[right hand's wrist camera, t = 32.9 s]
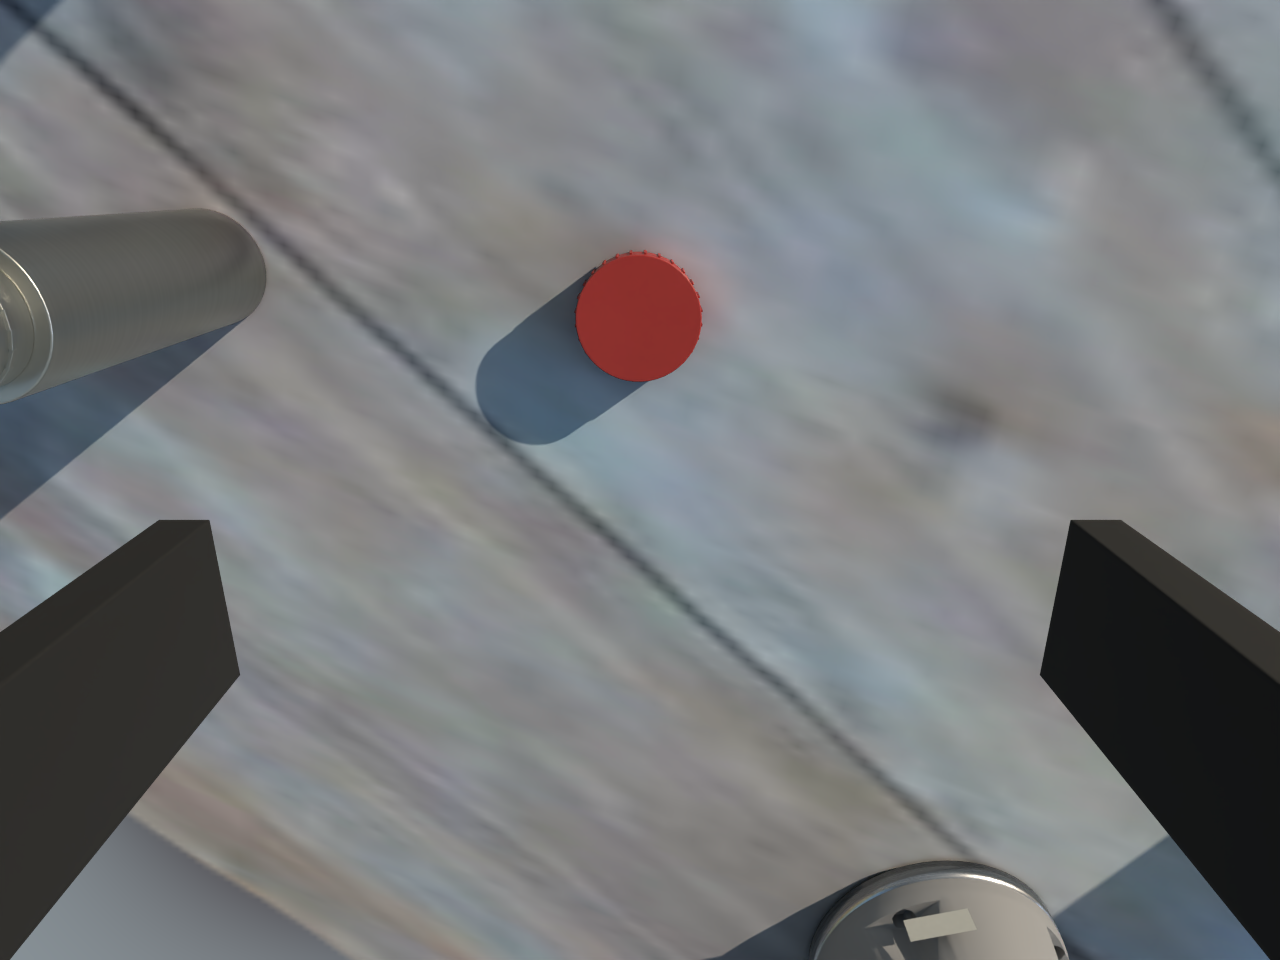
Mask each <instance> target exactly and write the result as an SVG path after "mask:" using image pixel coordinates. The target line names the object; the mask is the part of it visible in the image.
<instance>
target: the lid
mask: <svg viewBox="0 0 1280 960" xmlns="http://www.w3.org/2000/svg"><path fill="white" fill-rule="evenodd" d="M591 274H592V275H591V276H590V277H589V279H588V280H587V281H586V280H585V282H584V284H583V286H584V288H583V289H582V292H581V293H579V295H578V297H577V299H578V303H577V307H576V309H575V313H576V324H575V327H576V329H577V334H578V337H579V341H580V343H581V345H582V347H583V349H584V351H585V353H586V354H587V355H588V357H589V358H590V359H591V360H592V361H593V362H594V364H595V365H596V366H598V367H599V368H600V369H601V370H603V371H604V372H606V373H608V374H609V375H611V376H614V377H616V378H619V379H622V380H626V381H633V382H644V381H651V380H655V379H658V378H661V377H664V376H666V375H668V374H670V373H671V372H673V371H674V370H676V369H677V368H678V367H680V366H681V365H682V364H683V363H684V362H685V361H686V359H687V358H688V357H689V356H690V354H691V353H692V352H693V349H694V348H695V345H696V343H697V341H698V340H699V334H700V330H701V326H702V322H701V319H702V316H701V312H703V311H702V308H701V306H700V302H699V299H698V298H700V296H699V294H698V292H696V291H695V289H694V287H693V285H694V283H693V281H692V280H691V279H690V280H689V279H688V277H687V276H686V274H685V271H684V269H683V268H682V269H680V268H679V267H678V266H677V265H675V264H674V262H673V260H672V259H671V260H668V259H666V258H664V257H662V256H661V255H660V254H659V253H658V255H656V254H653V253H647V252H646V250H644V252H632V250H630V253H625V254H621V255H619V254H616V256H615V257H613V258H611V259H609V260H608V261H606V260H604V261H603V263H602V265H601V266H599V267H598V268H597V269H596V270H595V269H593V271H592V273H591Z"/></svg>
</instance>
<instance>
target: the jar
mask: <svg viewBox="0 0 1280 960" xmlns="http://www.w3.org/2000/svg"><path fill="white" fill-rule="evenodd" d="M265 286H266V270H265V264H264V260H263V257H262V254H261V252H260V250H259V248H258V246H257V244H256V243H255V241H254V240H253V238H252V237H251V236H250V234H249V233H248V232H247V231H246V230H245V229H244V228H243V227H242V226H241V225H240V224H238V223H237V222H236V221H234V220H233V219H231V218H229V217H227V216H226V215H224V214H221V213H219V212H216V211H212V210H207V209H184V210H168V211H153V212H137V213H122V214H106V215H90V216H75V217H59V218H44V219H28V220H13V221H0V404H5V403H9V402H12V401H15V400H18V399H21V398H24V397H27V396H29V395H32V394H35V393H38V392H41V391H44V390H46V389H49V388H52V387H55V386H58V385H61V384H63V383H66V382H69V381H72V380H75V379H78V378H80V377H83V376H86V375H89V374H92V373H95V372H97V371H100V370H103V369H106V368H109V367H112V366H114V365H117V364H120V363H123V362H126V361H129V360H131V359H134V358H137V357H140V356H143V355H146V354H148V353H151V352H154V351H157V350H160V349H163V348H165V347H168V346H171V345H174V344H177V343H180V342H182V341H185V340H188V339H191V338H194V337H197V336H199V335H202V334H205V333H208V332H211V331H214V330H216V329H219V328H222V327H225V326H228V325H231V324H233V323H236V322H239V321H241V320H243V319H244V318H246V317H247V316H249V315H250V314H251V313H252V312H253V311H254V310H255V309H256V307H257V306H258V305H259V303H260V301H261V299H262V297H263V294H264V290H265Z"/></svg>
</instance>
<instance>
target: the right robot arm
mask: <svg viewBox="0 0 1280 960" xmlns="http://www.w3.org/2000/svg"><path fill="white" fill-rule="evenodd" d="M239 676H240V672H239V667H238V662H237V657H236V652H235V647H234V642H233V637H232V632H231V627H230V622H229V617H228V612H227V607H226V602H225V597H224V592H223V586H222V581H221V576H220V571H219V566H218V561H217V556H216V551H215V546H214V541H213V536H212V531H211V526H210V521H209V520H158V521H157V522H156V523H154V524H153V525H151V526H150V527H148V528H147V529H146V530H144V531H143V532H141V533H140V534H139V535H137V536H136V537H134V538H133V539H132V540H130V541H129V542H127V543H126V544H124V545H123V546H122V547H120V548H119V549H117V550H116V551H115V552H113V553H112V554H110V555H109V556H107V557H106V558H105V559H103V560H102V561H100V562H99V563H98V564H96V565H95V566H93V567H92V568H90V569H89V570H88V571H86V572H85V573H83V574H82V575H81V576H79V577H78V578H76V579H75V580H73V581H72V582H71V583H69V584H68V585H66V586H65V587H64V588H62V589H61V590H59V591H58V592H57V593H55V594H54V595H52V596H51V597H49V598H48V599H47V600H45V601H44V602H42V603H41V604H40V605H38V606H37V607H35V608H34V609H32V610H31V611H30V612H28V613H27V614H25V615H24V616H23V617H21V618H20V619H18V620H17V621H15V622H14V623H13V624H11V625H10V626H8V627H7V628H6V629H4V630H3V631H1V632H0V960H10V959H11V958H12V956H13V955H14V954H15V953H16V951H17V950H18V949H19V948H20V946H21V945H22V944H23V943H24V941H25V940H26V939H27V938H28V937H29V935H30V934H31V933H32V932H33V930H34V929H35V928H36V927H37V925H38V924H39V923H40V922H41V920H42V919H43V918H44V917H45V915H46V914H47V913H48V912H49V911H50V909H51V908H52V907H53V906H54V904H55V903H56V902H57V901H58V899H59V898H60V897H61V896H62V894H63V893H64V892H65V891H66V890H67V888H68V887H69V886H70V885H71V883H72V882H73V881H74V880H75V878H76V877H77V876H78V875H79V873H80V872H81V871H82V870H83V868H84V867H85V866H86V865H87V864H88V862H89V861H90V860H91V859H92V857H93V856H94V855H95V854H96V852H97V851H98V850H99V849H100V847H101V846H102V845H103V844H104V842H105V841H106V840H107V839H108V838H109V836H110V835H111V834H112V833H113V831H114V830H115V829H116V828H117V826H118V825H119V824H120V823H121V821H122V820H123V819H124V818H125V817H126V815H127V814H128V813H129V812H130V810H131V809H132V808H133V807H134V805H135V804H136V803H137V802H138V800H139V799H140V798H141V797H142V795H143V794H144V793H145V792H146V791H147V789H148V788H149V787H150V786H151V784H152V783H153V782H154V781H155V779H156V778H157V777H158V776H159V774H160V773H161V772H162V771H163V770H164V768H165V767H166V766H167V765H168V763H169V762H170V761H171V760H172V758H173V757H174V756H175V755H176V753H177V752H178V751H179V750H180V748H181V747H182V746H183V745H184V744H185V742H186V741H187V740H188V739H189V737H190V736H191V735H192V734H193V732H194V731H195V730H196V729H197V727H198V726H199V725H200V724H201V723H202V721H203V720H204V719H205V718H206V716H207V715H208V714H209V713H210V711H211V710H212V709H213V708H214V706H215V705H216V704H217V703H218V701H219V700H220V699H221V698H222V697H223V695H224V694H225V693H226V692H227V690H228V689H229V688H230V687H231V685H232V684H233V683H234V682H235V680H236V679H237V678H238V677H239ZM1040 676H1041V677H1042V678H1043V679H1044V680H1045V682H1046V683H1047V684H1048V685H1049V687H1050V688H1051V689H1052V690H1053V692H1054V693H1055V694H1056V695H1057V697H1058V698H1059V699H1060V700H1061V701H1062V703H1063V704H1064V705H1065V706H1066V708H1067V709H1068V710H1069V711H1070V713H1071V714H1072V715H1073V716H1074V718H1075V719H1076V720H1077V721H1078V723H1079V724H1080V725H1081V726H1082V727H1083V729H1084V730H1085V731H1086V732H1087V734H1088V735H1089V736H1090V737H1091V739H1092V740H1093V741H1094V742H1095V744H1096V745H1097V746H1098V747H1099V748H1100V750H1101V751H1102V752H1103V753H1104V755H1105V756H1106V757H1107V758H1108V760H1109V761H1110V762H1111V763H1112V765H1113V766H1114V767H1115V768H1116V770H1117V771H1118V772H1119V773H1120V774H1121V776H1122V777H1123V778H1124V779H1125V781H1126V782H1127V783H1128V784H1129V786H1130V787H1131V788H1132V789H1133V791H1134V792H1135V793H1136V794H1137V795H1138V797H1139V798H1140V799H1141V800H1142V802H1143V803H1144V804H1145V805H1146V807H1147V808H1148V809H1149V810H1150V812H1151V813H1152V814H1153V815H1154V817H1155V818H1156V819H1157V820H1158V821H1159V823H1160V824H1161V825H1162V826H1163V828H1164V829H1165V830H1166V831H1167V833H1168V834H1169V835H1170V836H1171V838H1172V839H1173V840H1174V841H1175V843H1176V844H1177V845H1178V846H1179V847H1180V849H1181V850H1182V851H1183V852H1184V854H1185V855H1186V856H1187V857H1188V859H1189V860H1190V861H1191V862H1192V864H1193V865H1194V866H1195V867H1196V868H1197V870H1198V871H1199V872H1200V873H1201V875H1202V876H1203V877H1204V878H1205V880H1206V881H1207V882H1208V883H1209V885H1210V886H1211V887H1212V888H1213V890H1214V891H1215V892H1216V893H1217V894H1218V896H1219V897H1220V898H1221V899H1222V901H1223V902H1224V903H1225V904H1226V906H1227V907H1228V908H1229V909H1230V911H1231V912H1232V913H1233V914H1234V915H1235V917H1236V918H1237V919H1238V920H1239V922H1240V923H1241V924H1242V925H1243V927H1244V928H1245V929H1246V930H1247V932H1248V933H1249V934H1250V935H1251V937H1252V938H1253V939H1254V940H1255V941H1256V943H1257V944H1258V945H1259V946H1260V948H1261V949H1262V950H1263V951H1264V953H1265V954H1266V955H1267V956H1268V958H1269V959H1270V960H1280V632H1279V631H1277V630H1276V629H1274V628H1273V627H1272V626H1270V625H1269V624H1267V623H1266V622H1265V621H1263V620H1262V619H1260V618H1259V617H1257V616H1256V615H1255V614H1253V613H1252V612H1250V611H1249V610H1248V609H1246V608H1245V607H1243V606H1242V605H1240V604H1239V603H1238V602H1236V601H1235V600H1233V599H1232V598H1231V597H1229V596H1228V595H1226V594H1225V593H1223V592H1222V591H1221V590H1219V589H1218V588H1216V587H1215V586H1214V585H1212V584H1211V583H1209V582H1208V581H1207V580H1205V579H1204V578H1202V577H1201V576H1199V575H1198V574H1197V573H1195V572H1194V571H1192V570H1191V569H1190V568H1188V567H1187V566H1185V565H1184V564H1182V563H1181V562H1180V561H1178V560H1177V559H1175V558H1174V557H1173V556H1171V555H1170V554H1168V553H1167V552H1165V551H1164V550H1163V549H1161V548H1160V547H1158V546H1157V545H1156V544H1154V543H1153V542H1151V541H1150V540H1148V539H1147V538H1146V537H1144V536H1143V535H1141V534H1140V533H1139V532H1137V531H1136V530H1134V529H1133V528H1132V527H1130V526H1129V525H1127V524H1126V523H1124V522H1123V521H1122V520H1071V521H1070V526H1069V531H1068V536H1067V541H1066V546H1065V551H1064V556H1063V561H1062V566H1061V571H1060V576H1059V581H1058V586H1057V592H1056V597H1055V602H1054V607H1053V612H1052V617H1051V622H1050V627H1049V632H1048V637H1047V642H1046V647H1045V652H1044V657H1043V662H1042V667H1041V672H1040ZM809 960H1069V958H1068V953H1067V950H1066V948H1065V945H1064V942H1063V940H1062V937H1061V934H1060V932H1059V929H1058V928H1057V926H1056V924H1055V922H1054V920H1053V919H1052V917H1051V915H1050V913H1049V912H1048V910H1047V908H1046V906H1045V904H1044V903H1043V902H1042V900H1041V899H1040V898H1039V896H1038V895H1037V894H1036V893H1035V892H1034V891H1033V890H1032V889H1031V888H1029V887H1028V886H1027V885H1026V884H1024V883H1023V882H1021V881H1020V880H1018V879H1017V878H1015V877H1013V876H1011V875H1009V874H1007V873H1005V872H1003V871H1000V870H998V869H995V868H992V867H989V866H985V865H981V864H976V863H970V862H962V861H932V862H923V863H917V864H912V865H907V866H904V867H900V868H896V869H893V870H890V871H888V872H885V873H882V874H880V875H878V876H875V877H873V878H871V879H869V880H868V881H866V882H864V883H862V884H860V885H859V886H857V887H856V888H854V889H853V890H851V891H850V892H849V893H847V894H846V895H845V896H844V897H842V898H841V899H840V900H839V901H838V902H837V903H836V904H835V905H834V906H833V907H832V908H831V909H830V910H829V912H828V913H827V914H826V916H825V917H824V918H823V920H822V921H821V923H820V925H819V926H818V928H817V930H816V932H815V934H814V937H813V940H812V943H811V946H810V952H809Z"/></svg>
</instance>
